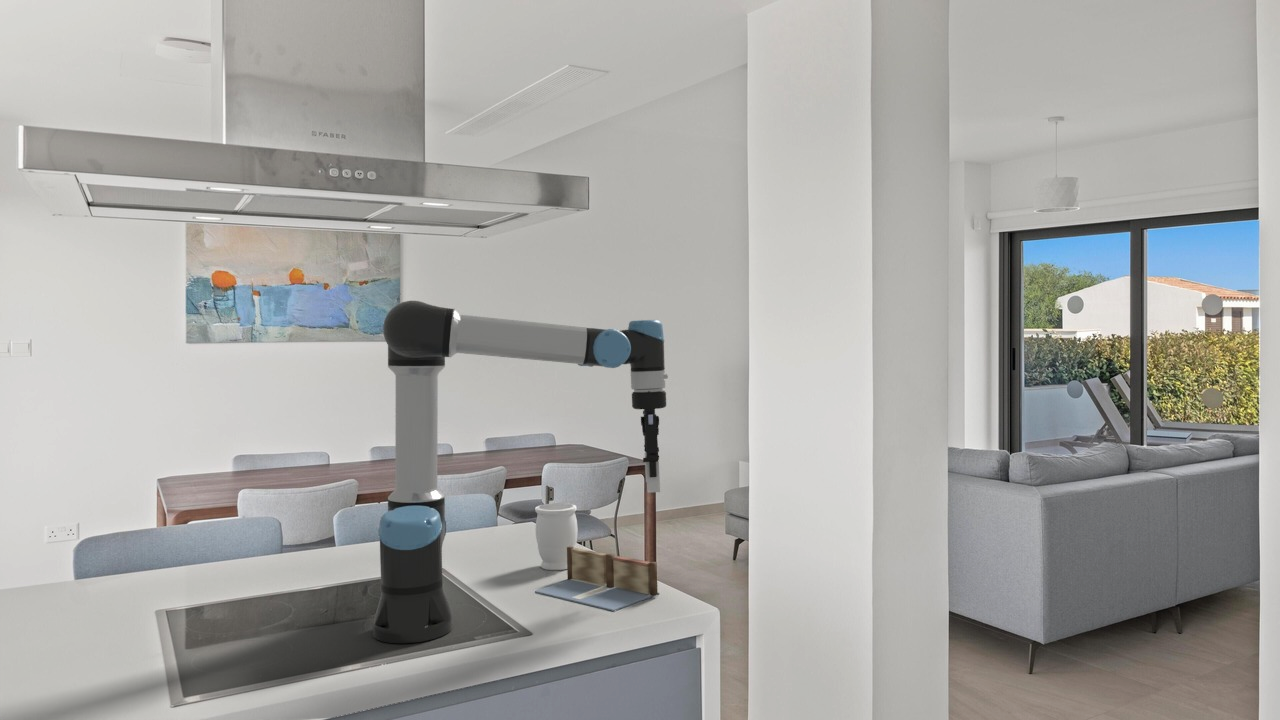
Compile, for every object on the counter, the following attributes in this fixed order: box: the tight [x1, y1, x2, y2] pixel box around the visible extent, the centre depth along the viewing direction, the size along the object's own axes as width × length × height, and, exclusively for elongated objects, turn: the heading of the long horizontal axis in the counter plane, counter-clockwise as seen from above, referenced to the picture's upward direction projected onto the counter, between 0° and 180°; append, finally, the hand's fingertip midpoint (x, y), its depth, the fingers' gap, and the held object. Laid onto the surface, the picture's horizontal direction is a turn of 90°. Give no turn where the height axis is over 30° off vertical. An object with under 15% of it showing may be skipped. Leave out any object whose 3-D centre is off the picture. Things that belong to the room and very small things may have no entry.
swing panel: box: [613, 555, 659, 597], centre depth 192 cm, size 12×2×7 cm, turn 50°
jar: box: [534, 502, 579, 571], centre depth 217 cm, size 11×10×15 cm
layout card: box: [535, 578, 660, 612], centre depth 193 cm, size 24×15×1 cm, turn 50°
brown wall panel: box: [566, 547, 615, 588], centre depth 201 cm, size 14×2×8 cm, turn 50°
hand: (652, 486), depth 192 cm, fingers open, 13 cm apart
